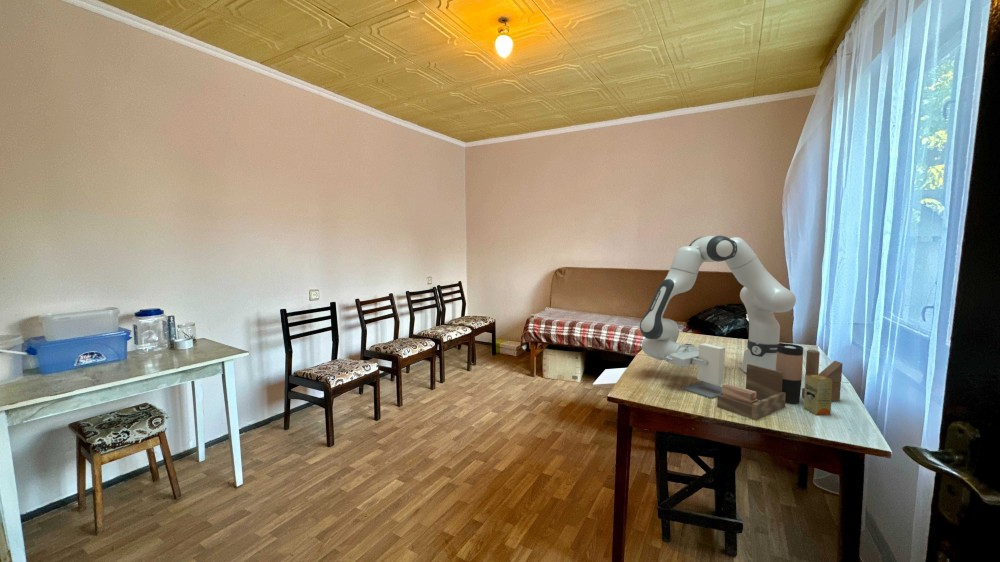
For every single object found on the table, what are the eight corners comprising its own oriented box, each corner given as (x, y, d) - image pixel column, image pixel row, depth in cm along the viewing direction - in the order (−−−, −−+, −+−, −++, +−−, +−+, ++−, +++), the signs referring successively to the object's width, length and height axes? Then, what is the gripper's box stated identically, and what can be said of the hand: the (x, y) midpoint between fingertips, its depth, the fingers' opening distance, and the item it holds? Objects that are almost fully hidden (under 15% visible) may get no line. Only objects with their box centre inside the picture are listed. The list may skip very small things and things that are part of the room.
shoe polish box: (815, 415, 128) (818, 379, 127) (803, 409, 133) (805, 374, 132) (830, 415, 128) (832, 379, 127) (817, 408, 133) (819, 374, 132)
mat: (702, 382, 160) (702, 380, 160) (732, 391, 150) (732, 390, 149) (681, 388, 153) (681, 387, 153) (711, 398, 142) (711, 397, 142)
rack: (747, 395, 146) (748, 364, 145) (784, 406, 135) (786, 373, 134) (717, 406, 136) (718, 373, 134) (755, 420, 125) (757, 383, 124)
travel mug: (769, 396, 145) (772, 343, 143) (790, 396, 145) (793, 343, 143) (783, 404, 137) (786, 348, 135) (805, 404, 137) (809, 348, 135)
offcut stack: (727, 404, 138) (728, 383, 137) (757, 414, 129) (758, 392, 129) (720, 406, 136) (721, 385, 135) (751, 417, 127) (752, 394, 127)
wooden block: (840, 402, 139) (843, 352, 138) (808, 401, 140) (811, 352, 139) (832, 398, 143) (835, 350, 141) (801, 397, 144) (804, 349, 142)
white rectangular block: (702, 377, 154) (704, 343, 153) (723, 384, 147) (725, 347, 146) (697, 379, 152) (699, 344, 151) (717, 385, 145) (719, 348, 144)
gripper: (662, 349, 155) (694, 358, 143) (693, 343, 166) (725, 350, 154) (661, 365, 156) (693, 375, 144) (692, 358, 166) (725, 366, 154)
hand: (710, 362), depth 149 cm, fingers closed on white rectangular block, 3 cm apart
